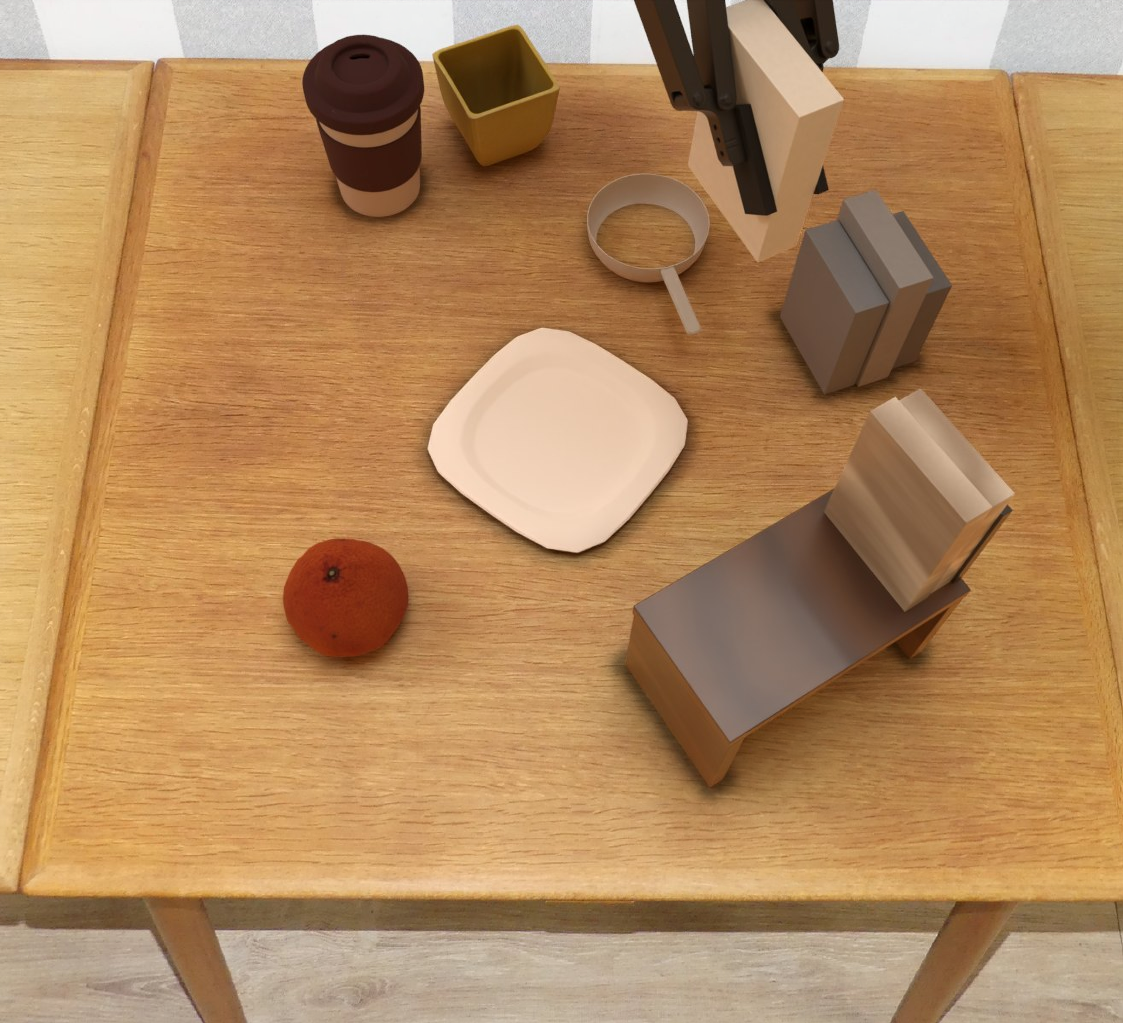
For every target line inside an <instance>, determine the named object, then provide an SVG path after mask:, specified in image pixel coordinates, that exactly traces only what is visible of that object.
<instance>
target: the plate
mask: <svg viewBox="0 0 1123 1023" xmlns="http://www.w3.org/2000/svg"><path fill="white" fill-rule="evenodd" d="M688 422H689V419H688V418H687V417H686V414H685V413H684V412H683V410H682V408H681V406H680V404H679V403H678V401H677V399H676V398H675V397H674V396H673V395H672V394H670V393H669V392H668V391H667V390H665V389H664V388H663V387H662V386H661V385H659V384H658V383H657V382H656V381H655V380H654V379H652V378H651V377H649V376H648V375H646V374H645V373H643V372H642V371H640V370H638V369H637V368H635V367H634V366H632V365H630V364H629V363H627V362H626V361H625V360H623V359H621V358H620V357H618V356H616V355H615V354H613V353H611V352H609V351H608V350H607V349H605V348H603V347H601V346H600V345H598V344H596V343H594V342H592V341H590V340H589V339H586V338H584V337H582V336H580V335H578V334H576V333H574V332H571V331H569V330H563V329H556V328H548V327H539V328H537V329H534V330H531V331H529V332H528V331H527V332H525V333H523V334H520V335H518V336H515V338H513V339H512V340H510V341H509V342H508V343H507V344H506V345H504V346H503V347H501V349H499V350H498V351H497V352H496V353H495V354H493V355H492V356H491V358H489V359H488V360H487V361H486V363H484V365H483V366H481V368H480V369H478V371H477V372H475V374H474V375H473V376H472V377H471V378H470V379H469V380H468V381H467V382H466V383H465V384H464V385H463V387H462V388H461V389H460V390H459V391H457V393H456V394H455V395H454V396H453V397H452V398H451V399H450V400H449V403H447V405H446V406H445V407H444V409H443V410H442V412H440V414H439V416H437V419H436V420H435V421H434V422H433V424H432V428H431V432H430V436H429V440H428V445H427V449H426V450H427V452H428V454H429V456H430V458H431V460H432V463H433V465H434V467H435V468H436V471H437V473H438V474H439V475H440V476H441V477H442V478H443V479H444V480H445V481H446V482H447V483H448V484H450V486H452V488H454V489H455V490H456V491H457V492H458V493H459V494H461V495H462V496H463V497H465V498H466V499H468V500H469V501H470V502H472V503H473V504H474V505H475V506H477V507H478V508H480V509H481V510H483V511H484V512H485V513H487V514H488V515H490V516H491V517H493V519H496V520H497V521H498V522H500V523H501V524H503V525H504V526H506V527H508V528H509V529H510V530H511V531H514V533H516V534H518V535H520V536H522V537H523V538H525V539H527V540H529V541H531V542H533V543H535V544H537V545H539V546H540V547H543V549H546V550H550V551H558V552H564V553H570V554H581V553H582V552H585V551H587V550H589V549H592V548H594V547H596V546H599V545H602V544H604V543H606V541H608V540H609V539H610V538H611V537H612V536H613V535H614V534H616V533H617V531H619V530H620V529H621V528H622V527H623V526H624V525H626V523H627V522H629V520H630V519H631V518H632V517H633V515H634V514H636V512H637V511H638V510H639V508H640V507H641V506H642V505H643V504H644V503H645V501H647V499H648V498H649V497H650V496H651V494H653V492H654V491H655V489H656V488H657V487H658V486H659V484H660V483H661V482H662V481H663V479H664V478H665V477H666V476H667V474H668V473H669V472H670V470H671V469H672V467H673V465H674V464H675V462H676V460H677V459H678V458H679V456H680V454H681V453H682V452H683V449H684V448H685V446H686V439H687V431H688Z"/></svg>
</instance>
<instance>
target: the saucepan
mask: <svg viewBox="0 0 1123 1023" xmlns="http://www.w3.org/2000/svg"><path fill="white" fill-rule="evenodd" d="M638 204H648V205H655V206H659V207H663V208H666V209H668V210H671V211H672V212H674V213H675V214H677V215H678V216H680V217H681V218H682V219H683V220H685V222H686V224H687V225H688V226H689V228H690V230H691V231H692V234H693V237H694V252H693V254H691V256H689V257H687V258H686V259H684V260H682V261H680V262H678V263H676V264H672V265H670V266H665V267H657V268H656V267H655V268H654V267H653V268H652V267H651V268H649V267H648V268H645V267H638V266H634V265H630V264H626V263H624V262H622V261H619V260H617V259H615V258H613V257H612V256H611V255H609V254H608V253H607V252H605V251H604V250H603V249H602V248H601V247H600V245H598V243H597V237H598V231H599V229H600V227H601V226H602V223H604V221H605V219H606V218H608V217H609V216H610V215H611V214H612V213H614V212H615V211H618V210H619V209H621V208H624V207H627V206H628V207H629V206H631V205H638ZM587 208H588V209H587V215H586V222H587V223H586V228H587V229H586V230H587V236H588V240H589V244H590V247H591V248H592V251H593V253H594V254H595V255H596V257H597V258H598V259H599V261H600V262H601V263H602V264H603V265H604V266H605V267H606V268H607V269H608V270H609V271H611V272H612V273H614V274H616V275H617V276H619V277H621V278H624V279H626V280H629V281H633V282H638V283H659V282H664V284H665V287H666V289H667V291H668V293H669V296H670V298H671V301H672V303H673V305H674V308H675V310H676V312H677V314H678V317H679V318H680V319H679V320H680V321H681V323H682V326H683V328H684V331H685V332H686V334H687V335H689V336H695V335H698V334H700V333H701V331H702V327H701V324H700V322H699V319H698V318H697V315H696V312H695V311H694V308H693V306H692V304H691V302H690V299H689V298H688V295H687V292H686V291H685V287H684V286H683V283H682V281H681V279H680V277H679V275H680V274H682V273H684V272H685V271H686V270H688V269H689V268H690V267H691V266H693V264H694V263H695V262H696V261H697V260H698V259H699V257H700V256H701V254H702V252H703V250H704V248H705V246H706V242H707V240H708V236H709V233H710V224H711V223H710V215H709V211H708V209H707V206H706V204H705V202H704V201H703V199H702V198H701V197H700V196H699V194H698V193H697V192H696V191H695V190H693V189H692V187H690V186H689V185H687V184H686V183H683V182H682V181H680V180H677V179H676V178H673V177H670V176H666V175H662V174H658V173H657V174H656V173H635V174H628V175H624V176H621V177H618V178H616V179H614V180H612V181H610V182H609V183H607V184H605V185H604V186H603V187H602V188H600V190H598V191H597V192H596V194H595V195H594V197H593V198H592V199H591V201H590V203H589V206H588V207H587Z"/></svg>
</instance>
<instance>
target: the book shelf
mask: <svg viewBox="0 0 1123 1023" xmlns="http://www.w3.org/2000/svg"><path fill="white" fill-rule="evenodd" d="M1015 495H1016V493H1015V492H1014V491H1013V489H1012V488H1011V487H1010V486H1009V485H1008V483H1006V482H1005V480H1004V479H1003V478H1002V477H1001V476H1000V475H999V474H998V472H997V471H996V470H995V469H994V468H993V467H992V466H991V465H990V464H989V462H988V461H987V460H986V458H984V457H983V456H982V455H981V453H980V452H979V451H978V450H977V449H976V448H975V447H974V446H973V445H972V444H971V442H970V441H969V440H968V439H967V438H966V436H964V434H963V433H962V432H961V431H960V430H959V429H958V428H957V427H956V425H954V423H953V422H952V421H951V420H950V419H949V418H948V416H946V414H945V413H944V412H943V411H942V410H941V409H940V408H939V406H938V405H937V404H936V403H935V402H934V401H933V399H931V398H930V396H928V394H927V393H926V392H925V391H924V390H923V388H918V389H916V390H915V391H912V392H911V393H909V394H907V395H905V396H904V397H902V398H900V399H898V398H897V396H894V397H892V398H890V399H889V400H887V401H885V402H883V403H881V404H880V405H878V406H876V407H874V408H873V409H870V410H869V412H868V414H867V416H866V419H865V420H864V423H863V425H862V428H861V429H860V432H859V434H858V436H857V438H856V441H855V442H854V445H853V447H852V450H851V451H850V454H849V456H848V458H847V461H846V462H845V465H844V467H843V469H842V471H841V474H840V475H839V478H838V480H837V482H836V484H835V487H834V488H833V489H830V490H829V491H827V492H825V493H823V494H821V495H820V496H819V497H817V498H816V499H813V500H812V501H810V502H809V503H807V504H805V505H804V506H801V507H800V508H798V509H797V510H795V511H793V512H791V513H789V514H788V515H786V516H785V517H783V518H781V519H779V520H778V521H776V522H775V523H773V524H771V525H769V526H768V527H766V528H764V529H762V530H761V531H759V532H757V533H756V534H754V535H752V536H750V537H748V538H747V539H746V540H744V541H742V542H740V543H738V544H736V545H735V546H734V547H731V548H730V549H728V550H726V551H724V552H723V553H721V554H720V555H718V556H716V557H714V558H713V559H711V560H709V561H708V562H706V563H704V564H703V565H701V566H699V567H697V568H696V569H694V570H691V572H688V573H687V574H686V575H683V576H682V577H681V578H679V579H677V580H675V581H673V582H672V583H670V584H668V585H667V586H665V587H664V588H662V589H659V590H658V591H656V592H654V593H653V594H651V595H650V596H648V597H646V598H645V599H642V600H641V601H640V602H637V603H635V604H634V605H632V606H633V607H632V615H633V617H632V623H631V628H630V634H629V640H628V644H627V650H626V656H625V661H624V665H625V666H626V668H627V669H628V672H630V674H631V675H632V677H633V679H634V680H635V681H636V683H637V684H638V685H639V687H640V688H641V690H642V692H643V693H644V694H645V696H646V697H647V699H648V700H649V701H650V703H651V705H652V706H653V707H654V709H655V710H656V712H657V714H658V715H659V716H660V717H661V719H662V720H663V722H664V723H665V725H666V726H667V728H668V729H669V731H670V732H671V734H672V735H673V736H674V737H675V739H676V741H677V742H678V744H679V745H680V746H681V748H682V749H683V751H684V752H685V754H686V755H687V757H688V759H689V760H690V761H691V763H692V764H693V766H694V767H695V769H696V770H697V771H698V773H699V774H700V776H701V777H702V779H703V780H704V783H706V785H707V787H709V788H712V787H714V786H715V785H716V784H718V783H720V782H721V781H723V780H724V778H725V776H726V774H727V772H728V771H729V769H730V767H731V765H732V763H733V762H734V759H735V758H736V755H737V753H738V751H739V750H740V747H741V746H742V744H743V741H744V740H745V738H746V737H748V736H750V735H751V734H752V733H754V732H756V731H757V730H759V729H761V728H762V727H764V726H765V725H767V724H768V723H770V722H771V721H773V720H774V719H776V718H778V717H779V716H781V715H782V714H784V713H785V712H787V711H789V710H790V709H792V708H793V707H794V706H795V707H796V705H798V704H799V703H801V702H803V701H804V700H806V699H807V698H809V697H811V696H812V695H814V694H816V693H818V692H819V691H820V690H822V689H823V688H825V687H826V686H828V685H830V684H831V683H833V682H834V681H836V680H838V679H839V678H841V677H842V676H844V675H846V674H847V673H849V672H850V671H851V670H853V669H855V668H856V667H858V666H859V665H861V664H863V663H864V662H865V661H867V660H869V659H870V658H872V657H873V656H875V655H876V654H879V652H882V651H883V650H884V649H886V648H887V647H889V646H891V645H892V644H894V643H896V644H897V646H898V647H899V648H900V649H901V651H902V652H903V653H904V655H906V657H907V658H908V659H909V660H911V659H912V658H914V657H915V656H917V655H919V654H920V653H921V652H923V650H924V649H925V648H926V647H927V646H928V644H929V643H930V642H931V640H932V639H933V638H934V636H935V635H936V634H937V632H939V630H940V629H941V628H942V626H943V625H944V624H945V622H946V621H947V620H948V619H949V617H950V616H951V615H952V614H953V612H954V611H955V610H956V608H957V607H958V606H959V605H960V603H962V601H963V600H964V599H965V598H966V597H967V596H968V595H969V593H970V592H971V588H970V587H969V586H968V584H967V583H966V582H965V581H964V579H963V578H964V576H965V574H966V573H967V572H968V570H970V568H971V566H972V565H973V564H974V562H975V561H976V560H977V558H979V556H980V555H981V553H982V552H983V551H984V549H985V548H986V547H987V545H988V544H989V543H990V541H991V540H992V538H993V537H994V536H995V535H996V533H997V532H998V531H999V529H1000V528H1001V527H1002V525H1003V524H1004V523H1005V522H1006V520H1007V519H1008V517H1009V516H1010V515H1011V513H1012V512H1013V509H1012V507H1011V506H1010V505H1009V503H1010V502H1011V500H1012V499H1013V498H1014V497H1015Z"/></svg>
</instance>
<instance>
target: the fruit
mask: <svg viewBox="0 0 1123 1023" xmlns="http://www.w3.org/2000/svg"><path fill="white" fill-rule="evenodd" d="M282 604H283V610H284V614H285V617H286V620H287V622H288V624H289V625H290V627H291V629H292V630H293V632H294V633H295V635H296V636H297V638H299V640H300V641H302V642H303V643H305V644H306V645H308V646H309V647H310V648H311V649H312V650H314V651H315V652H317V653H318V654H320V655H323V656H326V657H328V658H329V657H330V658H345V657H359V656H363V655H365V654H367V653H370V652H373V651H375V650H378V649H380V648H381V647H383V646H384V645H385V644H386V643H387V642H388V641H389V640H390V639H391V637H392V636H393V634H395V633H396V631H397V630H398V628H399V626H400V624H401V622H402V620H403V619H404V617H405V615H406V612H407V610H408V606H409V587H408V583H407V578H406V575H405V573H404V571H403V569H402V568H401V565H400V564H399V562H398V561H397V559H395V557H394V556H393V555H392V554H391V553H390V552H389V551H387V550H386V549H385V548H383V547H381V546H379V545H377V544H375V543H372V542H369V541H366V540H359V539H354V538H345V537H344V538H339V537H337V538H336V537H335V538H330V539H327V540H324V541H323V540H322V541H320V542H317V543H315V544H313V545H312V546H310V547H308V548H307V549H306V551H305V552H304V553H303V554H302V555H301V556H300V557H299V558H297V560H296V562H295V564H294V565H292V567H291V569H290V571H289V573H288V575H287V578H286V581H285V584H284V586H283V592H282Z"/></svg>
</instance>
